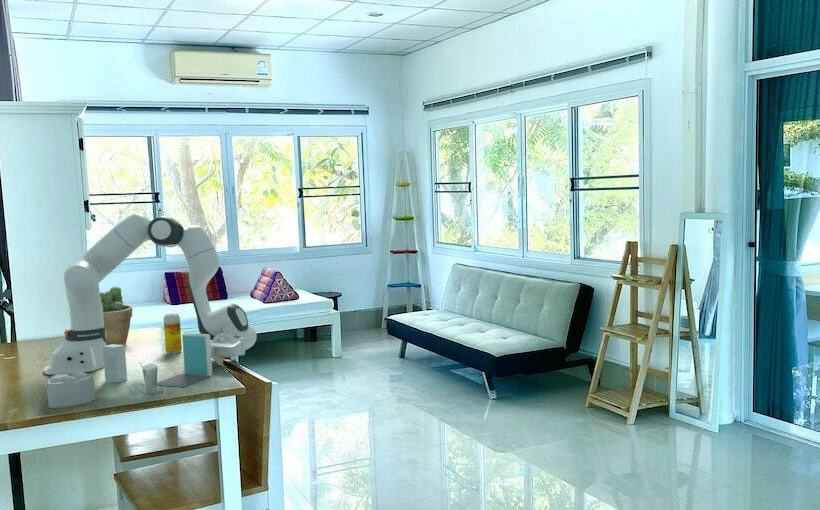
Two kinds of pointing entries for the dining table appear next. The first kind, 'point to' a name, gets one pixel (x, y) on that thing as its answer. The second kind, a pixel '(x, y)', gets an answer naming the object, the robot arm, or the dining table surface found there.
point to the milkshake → (150, 377)
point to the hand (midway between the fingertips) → (200, 353)
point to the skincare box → (114, 363)
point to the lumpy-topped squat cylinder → (70, 389)
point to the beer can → (172, 333)
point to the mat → (182, 380)
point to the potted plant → (115, 317)
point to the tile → (197, 354)
